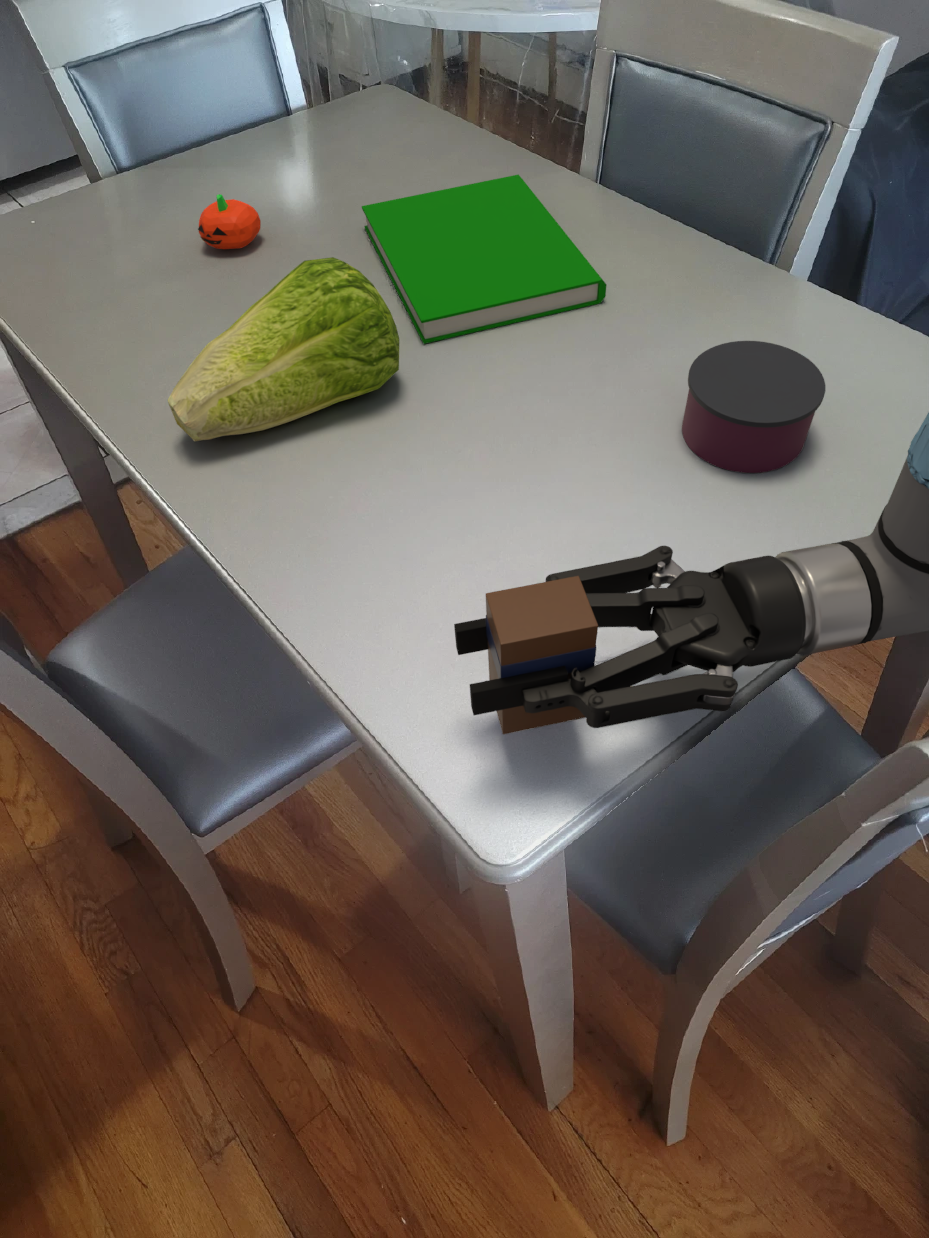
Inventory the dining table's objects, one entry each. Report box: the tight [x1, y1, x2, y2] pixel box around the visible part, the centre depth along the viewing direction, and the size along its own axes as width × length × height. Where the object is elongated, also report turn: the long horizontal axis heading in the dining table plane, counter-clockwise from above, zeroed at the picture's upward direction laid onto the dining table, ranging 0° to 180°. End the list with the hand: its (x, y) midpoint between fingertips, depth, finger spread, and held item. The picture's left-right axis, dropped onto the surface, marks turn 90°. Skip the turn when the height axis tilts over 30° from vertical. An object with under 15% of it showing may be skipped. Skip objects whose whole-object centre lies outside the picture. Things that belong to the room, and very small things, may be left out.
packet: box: [485, 576, 599, 735], centre depth 60 cm, size 6×4×11 cm
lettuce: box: [167, 256, 400, 442], centre depth 89 cm, size 14×24×14 cm
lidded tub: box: [681, 340, 826, 474], centre depth 85 cm, size 13×13×6 cm
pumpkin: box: [197, 193, 262, 250], centre depth 112 cm, size 7×8×6 cm
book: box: [361, 174, 607, 345], centre depth 108 cm, size 22×28×3 cm
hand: (464, 669), depth 59 cm, fingers closed on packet, 4 cm apart
